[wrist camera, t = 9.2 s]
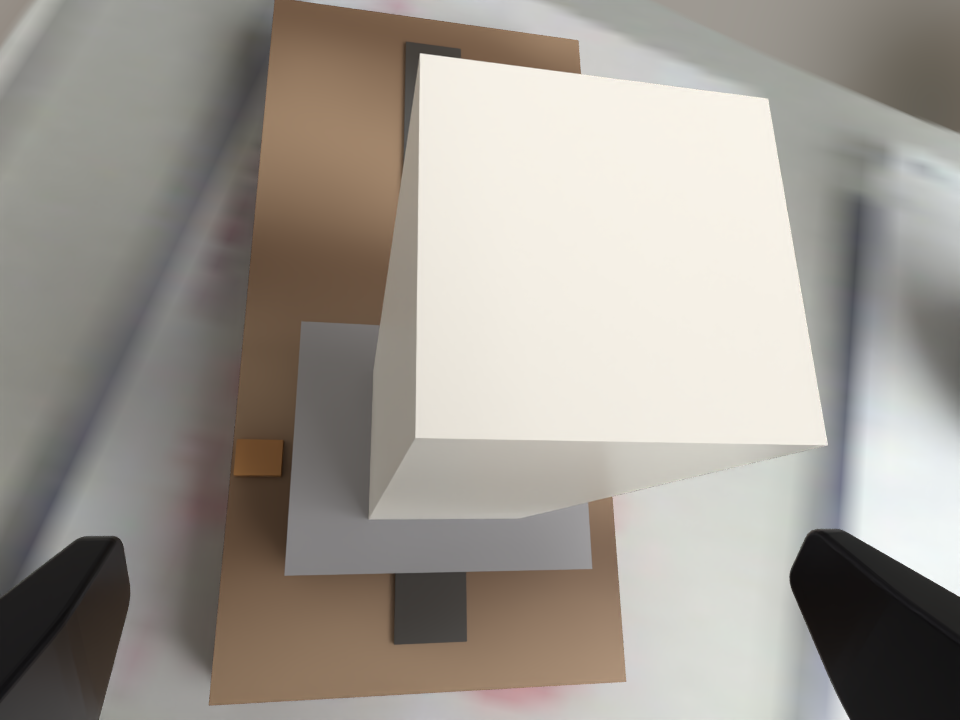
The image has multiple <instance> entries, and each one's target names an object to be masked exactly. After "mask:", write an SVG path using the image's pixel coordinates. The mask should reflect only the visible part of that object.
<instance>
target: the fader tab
mask: <svg viewBox="0 0 960 720" xmlns="http://www.w3.org/2000/svg"><path fill="white" fill-rule="evenodd" d="M827 445H828V444H827V438H826V432H825V426H824V421H823V415H822V409H821V403H820V397H819V392H818V386H817V380H816V374H815V368H814V363H813V357H812V351H811V345H810V339H809V334H808V328H807V322H806V316H805V310H804V305H803V299H802V293H801V287H800V281H799V276H798V270H797V264H796V258H795V252H794V247H793V241H792V235H791V229H790V224H789V218H788V212H787V206H786V200H785V195H784V189H783V183H782V177H781V171H780V166H779V160H778V154H777V148H776V142H775V137H774V131H773V125H772V119H771V113H770V108H769V102H768V99H767V98H759V97H751V96H744V95H736V94H728V93H720V92H713V91H705V90H697V89H690V88H682V87H674V86H667V85H659V84H651V83H644V82H636V81H628V80H621V79H613V78H605V77H598V76H590V75H582V74H575V73H567V72H559V71H552V70H544V69H536V68H529V67H521V66H513V65H506V64H498V63H490V62H483V61H475V60H467V59H460V58H452V57H444V56H437V55H429V54H421V53H420V57H419V64H418V71H417V77H416V84H415V91H414V98H413V105H412V111H411V118H410V125H409V132H408V138H407V145H406V152H405V159H404V166H403V172H402V179H401V186H400V193H399V199H398V206H397V213H396V220H395V227H394V233H393V240H392V247H391V254H390V260H389V267H388V274H387V281H386V288H385V294H384V301H383V308H382V315H381V321H380V325H364V324H344V323H324V322H304V321H301V335H300V350H299V365H298V380H297V395H296V410H295V425H294V440H293V455H292V470H291V485H290V500H289V515H288V530H287V545H286V560H285V575H284V576H293V575H339V574H385V573H431V572H477V571H523V570H569V569H592V556H591V540H590V525H589V509H588V502H591V501H595V500H599V499H604V498H608V497H612V496H616V495H621V494H625V493H629V492H633V491H637V490H642V489H646V488H650V487H654V486H659V485H663V484H667V483H671V482H675V481H680V480H684V479H688V478H692V477H696V476H701V475H705V474H709V473H713V472H718V471H722V470H726V469H730V468H734V467H739V466H743V465H747V464H751V463H756V462H760V461H764V460H768V459H772V458H777V457H781V456H785V455H789V454H793V453H798V452H802V451H806V450H810V449H815V448H819V447H823V446H827Z"/></svg>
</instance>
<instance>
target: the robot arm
mask: <svg viewBox="0 0 960 720" xmlns="http://www.w3.org/2000/svg"><path fill="white" fill-rule="evenodd" d="M789 577H790V586H791V589H792V592H793V594H794V596H795V599H796V601H797V603H798V606H799V608H800V610H801V613H802V615H803V618H804V620H805V622H806V625H807V627H808V629H809V632H810V634H811V636H812V639H813V641H814V643H815V646H816V648H817V650H818V653H819V655H820V657H821V660H822V662H823V665H824V667H825V669H826V672H827V674H828V676H829V678H830V681H831V683H832V685H833V687H834V689H835V692H836V694H837V696H838V698H839V700H840V702H841V704H842V706H843V708H844V710H845V711H846V713H847V715H848V717H849V719H850V720H960V597H959V596H957V595H955V594H954V593H952V592H950V591H948V590H947V589H945V588H943V587H941V586H940V585H938V584H936V583H934V582H933V581H931V580H929V579H927V578H926V577H924V576H922V575H921V574H919V573H917V572H915V571H914V570H912V569H910V568H908V567H907V566H905V565H903V564H901V563H900V562H898V561H896V560H894V559H893V558H891V557H889V556H887V555H886V554H884V553H882V552H880V551H879V550H877V549H875V548H873V547H872V546H870V545H868V544H866V543H865V542H863V541H861V540H859V539H858V538H856V537H854V536H853V535H851V534H849V533H847V532H845V531H843V530H840V529H815V530H812V531H811V532H809V533H808V534H807V536H806V538H805V540H804V542H803V544H802V546H801V548H800V550H799V553H798V555H797V557H796V559H795V561H794V563H793V566H792V568H791V570H790V576H789ZM129 601H130V583H129V577H128V571H127V565H126V559H125V553H124V547H123V544H122V542H121V540H120V539H119V538H118V537H115V536H85V537H81V538H79V539H77V540H75V541H74V542H72V543H71V544H70V545H68V546H67V547H66V548H64V549H63V550H62V551H60V552H59V553H58V554H57V555H55V556H54V557H53V558H51V559H50V560H49V561H47V562H46V563H45V564H44V565H42V566H41V567H40V568H38V569H37V570H36V571H34V572H33V573H32V574H31V575H29V576H28V577H27V578H25V579H24V580H23V581H21V582H20V583H19V584H18V585H16V586H15V587H14V588H12V589H11V590H10V591H8V592H7V593H6V594H5V595H3V596H2V597H1V598H0V720H99V717H100V714H101V710H102V706H103V702H104V698H105V695H106V691H107V687H108V683H109V679H110V676H111V672H112V668H113V664H114V660H115V657H116V653H117V649H118V645H119V641H120V638H121V634H122V630H123V626H124V622H125V619H126V615H127V611H128V607H129Z"/></svg>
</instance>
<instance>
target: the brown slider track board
mask: <svg viewBox="0 0 960 720" xmlns="http://www.w3.org/2000/svg"><path fill="white" fill-rule="evenodd" d="M420 53H421V54H429V55H437V56H444V57H452V58H460V59H467V60H475V61H483V62H490V63H498V64H506V65H513V66H521V67H529V68H536V69H544V70H552V71H559V72H567V73H575V74H581V69H580V56H579V42H578V40H572V39H565V38H558V37H551V36H543V35H536V34H529V33H522V32H515V31H508V30H501V29H494V28H487V27H480V26H472V25H465V24H458V23H451V22H444V21H437V20H430V19H423V18H416V17H408V16H401V15H394V14H387V13H380V12H373V11H366V10H359V9H352V8H344V7H337V6H330V5H323V4H316V3H309V2H302V1H295V0H275V3H274V14H273V24H272V35H271V46H270V56H269V67H268V78H267V89H266V99H265V110H264V121H263V131H262V142H261V153H260V163H259V174H258V185H257V195H256V206H255V217H254V227H253V238H252V249H251V259H250V270H249V281H248V291H247V302H246V313H245V323H244V334H243V345H242V355H241V366H240V377H239V387H238V398H237V409H236V419H235V430H234V441H233V452H232V462H231V473H230V484H229V494H228V505H227V516H226V526H225V537H224V548H223V558H222V569H221V580H220V590H219V601H218V612H217V622H216V633H215V644H214V654H213V665H212V676H211V686H210V697H209V706H210V705H228V704H245V703H263V702H280V701H298V700H315V699H333V698H350V697H368V696H385V695H403V694H420V693H438V692H455V691H473V690H490V689H508V688H525V687H543V686H560V685H578V684H595V683H613V682H626V674H625V660H624V647H623V633H622V620H621V607H620V593H619V580H618V566H617V553H616V539H615V526H614V513H613V499H612V497H608V498H604V499H599V500H595V501H591V502H588V509H589V525H590V540H591V556H592V569H569V570H523V571H477V572H431V573H385V574H339V575H293V576H284V575H285V560H286V545H287V530H288V515H289V500H290V485H291V470H292V455H293V440H294V425H295V410H296V395H297V380H298V365H299V350H300V335H301V321H304V322H324V323H344V324H364V325H380V321H381V315H382V308H383V301H384V294H385V288H386V281H387V274H388V267H389V260H390V254H391V247H392V240H393V233H394V227H395V220H396V213H397V206H398V199H399V193H400V186H401V179H402V172H403V166H404V159H405V152H406V145H407V138H408V132H409V125H410V118H411V111H412V105H413V98H414V91H415V84H416V77H417V71H418V64H419V57H420Z"/></svg>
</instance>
